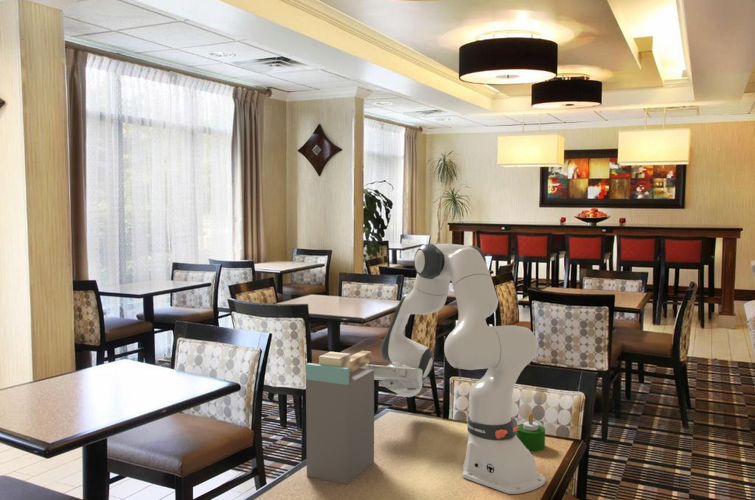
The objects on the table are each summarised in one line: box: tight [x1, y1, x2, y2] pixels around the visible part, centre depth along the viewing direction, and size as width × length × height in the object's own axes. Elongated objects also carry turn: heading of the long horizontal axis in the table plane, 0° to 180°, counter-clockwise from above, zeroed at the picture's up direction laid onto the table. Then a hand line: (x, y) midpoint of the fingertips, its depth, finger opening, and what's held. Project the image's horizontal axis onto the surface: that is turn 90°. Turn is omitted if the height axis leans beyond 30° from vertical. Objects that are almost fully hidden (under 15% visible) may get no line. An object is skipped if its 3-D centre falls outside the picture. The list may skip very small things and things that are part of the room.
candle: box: [516, 413, 546, 453], centre depth 192 cm, size 8×8×10 cm
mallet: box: [318, 350, 372, 376], centre depth 178 cm, size 22×6×6 cm, turn 155°
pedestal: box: [305, 362, 375, 485], centre depth 175 cm, size 16×12×30 cm
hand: (380, 368), depth 196 cm, fingers open, 8 cm apart
